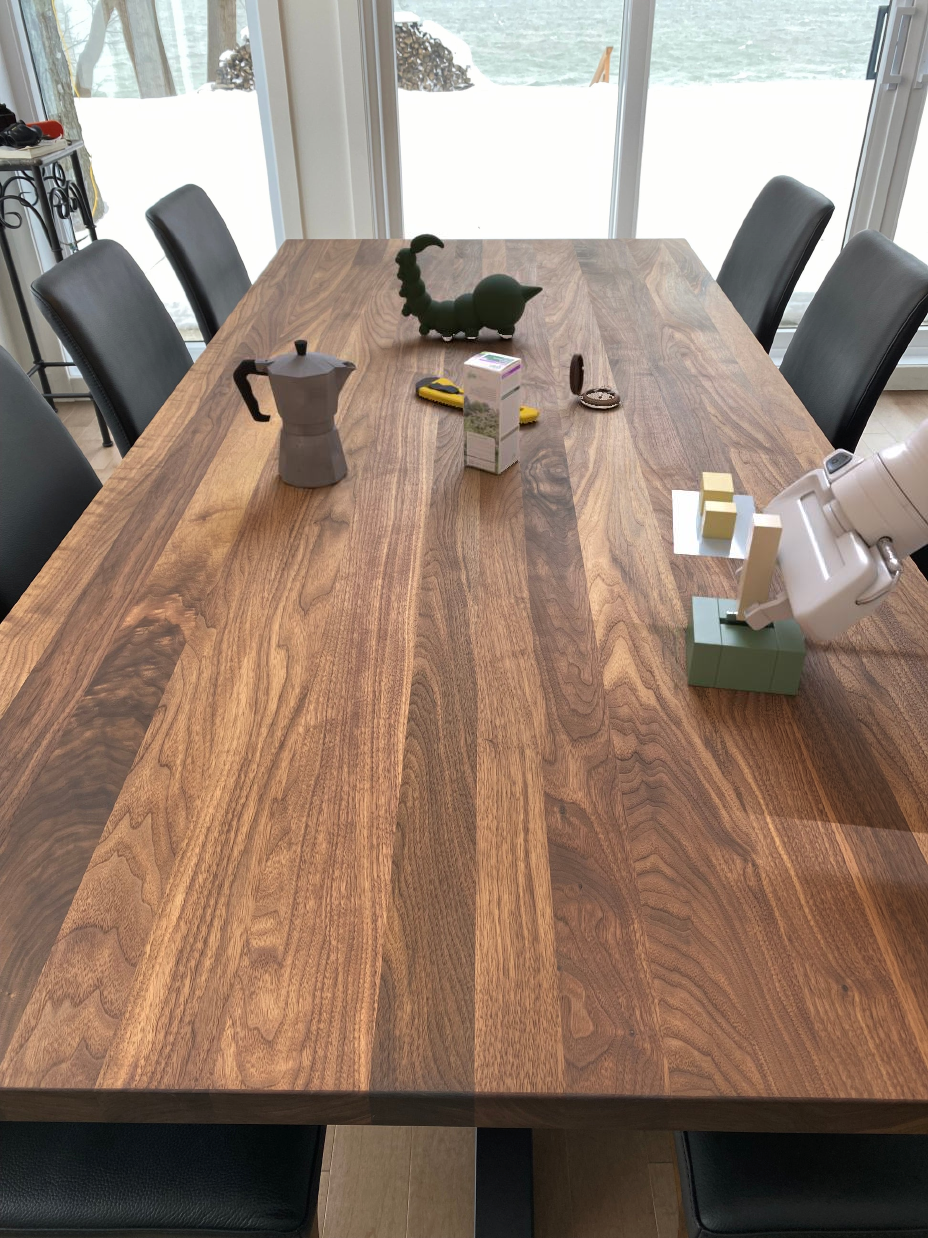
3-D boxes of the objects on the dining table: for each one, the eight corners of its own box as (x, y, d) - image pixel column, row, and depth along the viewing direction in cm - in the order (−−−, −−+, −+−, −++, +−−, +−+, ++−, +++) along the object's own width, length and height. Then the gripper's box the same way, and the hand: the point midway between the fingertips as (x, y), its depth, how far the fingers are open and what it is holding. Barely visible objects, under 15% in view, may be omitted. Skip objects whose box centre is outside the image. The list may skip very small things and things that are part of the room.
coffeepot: (364, 457, 134) (356, 327, 124) (361, 488, 126) (352, 352, 116) (252, 459, 133) (234, 328, 123) (241, 490, 126) (221, 353, 115)
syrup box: (520, 460, 133) (523, 356, 125) (498, 476, 129) (500, 370, 121) (484, 450, 136) (485, 348, 127) (461, 466, 132) (461, 361, 123)
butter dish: (751, 502, 123) (752, 495, 122) (763, 568, 110) (764, 560, 109) (671, 496, 124) (672, 489, 124) (673, 560, 111) (674, 553, 111)
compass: (616, 412, 147) (620, 365, 143) (565, 406, 149) (568, 359, 145) (626, 393, 153) (631, 348, 149) (577, 387, 155) (580, 342, 151)
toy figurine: (403, 354, 173) (545, 344, 170) (389, 243, 162) (540, 230, 160) (409, 337, 181) (544, 327, 178) (395, 229, 170) (539, 217, 168)
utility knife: (431, 382, 157) (431, 370, 156) (551, 414, 146) (552, 402, 145) (404, 395, 152) (404, 383, 151) (526, 429, 142) (527, 416, 140)
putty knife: (758, 659, 96) (789, 515, 87) (760, 674, 94) (792, 528, 85) (716, 656, 96) (743, 512, 87) (718, 670, 94) (745, 525, 85)
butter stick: (727, 499, 122) (731, 473, 120) (729, 518, 118) (734, 491, 116) (698, 496, 122) (702, 471, 120) (700, 515, 118) (704, 489, 116)
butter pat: (731, 529, 115) (735, 502, 113) (732, 539, 113) (737, 512, 111) (700, 526, 116) (705, 500, 114) (701, 537, 114) (705, 510, 112)
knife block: (685, 636, 99) (691, 595, 96) (786, 646, 98) (796, 604, 95) (687, 685, 92) (694, 642, 90) (796, 696, 91) (806, 652, 88)
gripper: (931, 602, 77) (781, 691, 83) (870, 485, 94) (750, 566, 100) (887, 550, 75) (737, 645, 81) (833, 440, 92) (712, 526, 98)
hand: (744, 601), depth 91 cm, fingers open, 5 cm apart
